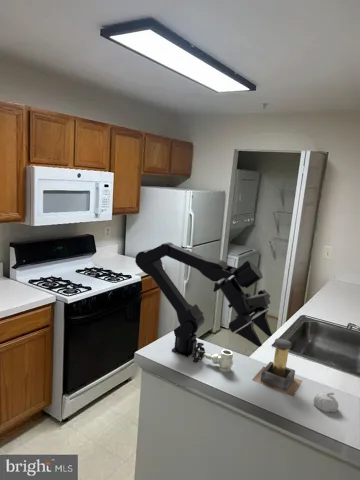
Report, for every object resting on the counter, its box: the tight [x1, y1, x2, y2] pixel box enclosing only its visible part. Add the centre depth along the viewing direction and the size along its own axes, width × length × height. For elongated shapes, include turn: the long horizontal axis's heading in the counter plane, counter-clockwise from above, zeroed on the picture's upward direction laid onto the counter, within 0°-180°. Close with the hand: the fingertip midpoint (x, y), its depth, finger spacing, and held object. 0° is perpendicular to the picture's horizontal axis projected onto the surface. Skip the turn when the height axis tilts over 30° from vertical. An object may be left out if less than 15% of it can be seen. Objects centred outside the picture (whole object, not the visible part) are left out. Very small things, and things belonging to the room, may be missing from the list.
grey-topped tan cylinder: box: [272, 337, 292, 378], centre depth 102 cm, size 5×5×12 cm
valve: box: [191, 341, 234, 373], centre depth 108 cm, size 7×7×12 cm
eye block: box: [251, 361, 303, 397], centre depth 102 cm, size 12×10×4 cm
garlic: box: [313, 392, 339, 413], centre depth 92 cm, size 6×5×5 cm
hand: (265, 340), depth 104 cm, fingers open, 9 cm apart
